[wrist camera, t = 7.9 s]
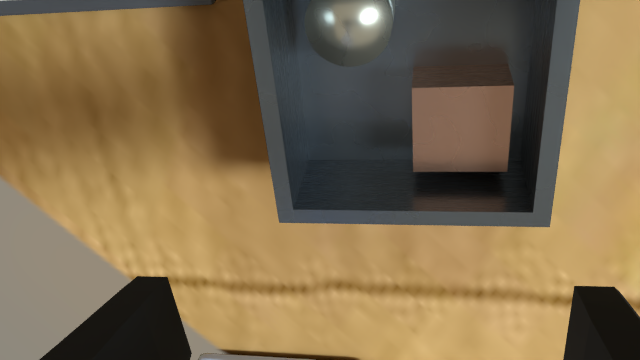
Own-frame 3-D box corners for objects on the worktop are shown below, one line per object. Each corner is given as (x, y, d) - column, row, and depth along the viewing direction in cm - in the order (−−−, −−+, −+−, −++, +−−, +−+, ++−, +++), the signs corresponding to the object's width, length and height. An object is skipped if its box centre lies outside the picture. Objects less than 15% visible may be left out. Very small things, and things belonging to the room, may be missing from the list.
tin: (532, 164, 20) (549, 227, 17) (299, 164, 22) (279, 222, 19) (560, -95, 16) (589, -70, 13) (268, -73, 17) (235, -46, 14)
